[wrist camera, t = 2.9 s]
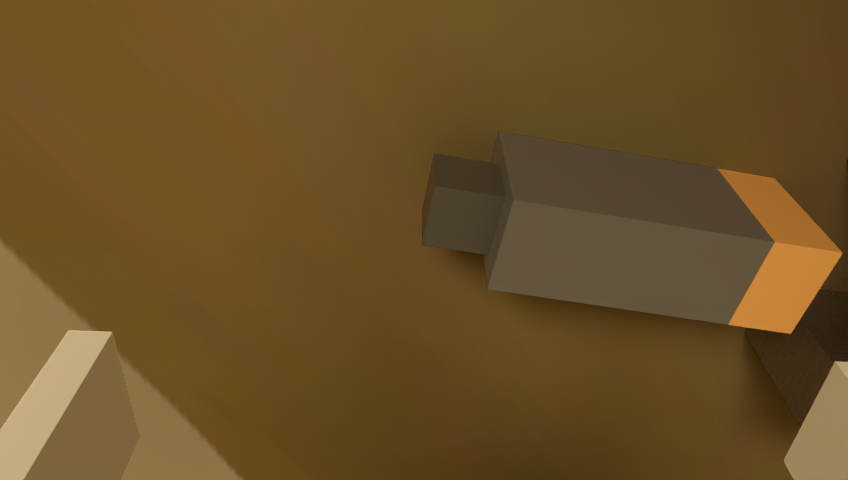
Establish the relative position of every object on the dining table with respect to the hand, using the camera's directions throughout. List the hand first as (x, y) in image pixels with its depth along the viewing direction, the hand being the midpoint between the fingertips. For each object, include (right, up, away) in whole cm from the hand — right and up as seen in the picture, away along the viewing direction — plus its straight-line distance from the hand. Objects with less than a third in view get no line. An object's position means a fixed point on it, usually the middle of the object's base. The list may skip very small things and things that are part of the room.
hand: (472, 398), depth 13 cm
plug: (+8, +5, +21) cm, 23 cm away
